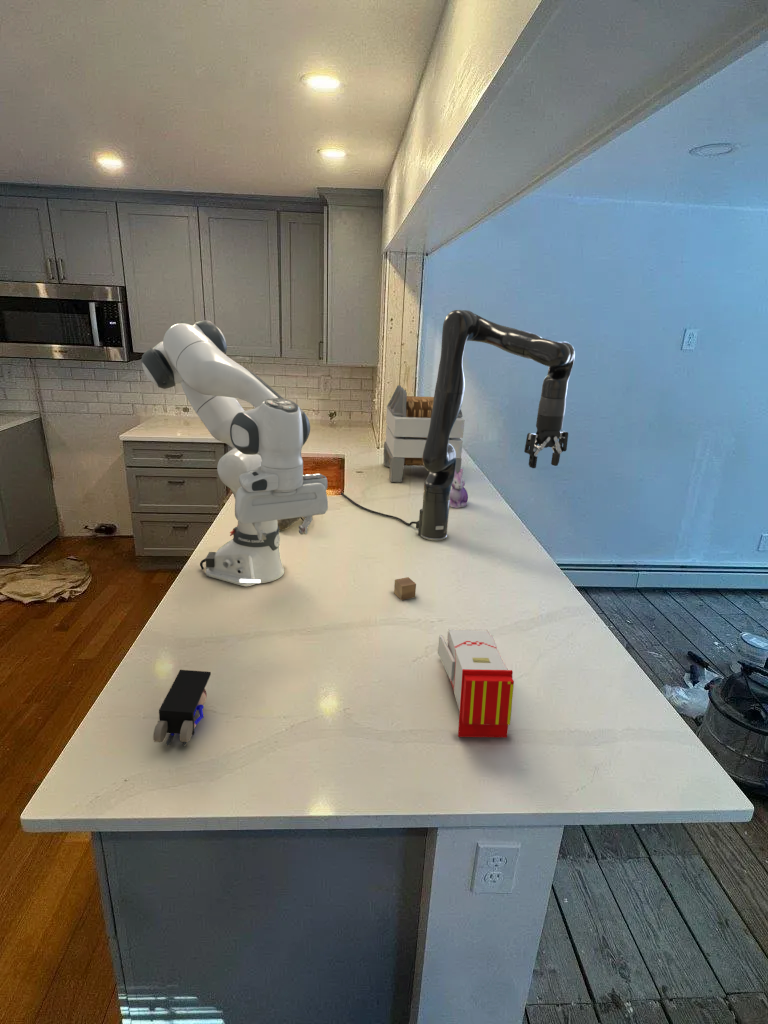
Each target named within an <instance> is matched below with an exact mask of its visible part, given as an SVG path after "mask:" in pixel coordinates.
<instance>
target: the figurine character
mask: <svg viewBox="0 0 768 1024" xmlns="http://www.w3.org/2000/svg"><path fill="white" fill-rule="evenodd" d="M211 675H212V673H211V671H208V670H207V671H204V670H190V669H189V670H188V669H179V670H178V673H177V675H176V676H175V679H174V681H173V682H172V684H171V686H170V687H169V690H168V692H167V694H166V696H165V697H164V700H163V701H162V703H161V705H160V707H159V709H158V717H159V718H158V719H159V720H158V721H157V722H156V724H155V727H154V729H153V734H152V735H153V737H152V738H153V740H152V741H153V742H155V743H163V742H164V741H165V739H166V737H167V734H169V735H168V737H167V740H166V743H165V744H166V746H167V747H168V746H170V745H171V744H172V742H173V739H174V737H175V735H179V741H180V742H181V744H182V745H181V746H182V747H185V746H186V745H187V744H188V743H189V742H190V740H191V738H192V736H194V735H195V733H196V732H195V728H196V727H197V725H198V724H199V723H200V722H201V721H202V720H203V719H204V717H205V716H204V711H203V710H204V707H205V706H204V704H205V703H206V701H207V698H208V695H207V690H206V686H207V684H208V682H209V679H210V677H211ZM197 711H198V715H199V716H198V717H197V718H196V719H195V716H196V713H197Z"/></svg>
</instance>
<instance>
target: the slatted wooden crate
mask: <svg viewBox="0 0 768 1024" xmlns="http://www.w3.org/2000/svg"><path fill="white" fill-rule="evenodd" d="M407 394H408V393H407V390H406V389H404V388H403V387H402V385H399V384H398V385H397V386H396V388H395V390H394V392H393V394H392V395H391V398H390V400H389V402H388V404H387V405H386V413H385V414H386V415H385V423H386V428H385V438H384V442H383V466H384V467H388V468H389V475H388V476H389V477H388V478H389V480H390V482H391V483H402V482H403V475H404V469H405V466H406V467H407V466H411V467H412V466H413V467H415V466H416V467H417V466H418V467H424V465H423V460H422V456H423V451H424V447H425V444H426V440H427V436H428V432H429V427H430V421H431V414H432V408H433V400H434V396H415V395H414V396H413V395H412V396H411V395H407ZM464 429H465V419H464V418H463V411H462V408H461V409H460V412H459V414H458V416H457V419H456V421H455V423H454V425H453V427H452V429H451V432H450V436H449V441H448V443H449V444H451V445H452V446H453V448H454V449H455V452H456V466H455V470H456V472H457V473H459V471H460V469H462V461H463V460H462V453H463V442H464V441H463V440H462V439H463V438H464V431H465V430H464Z"/></svg>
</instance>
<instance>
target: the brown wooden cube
mask: <svg viewBox="0 0 768 1024" xmlns="http://www.w3.org/2000/svg"><path fill="white" fill-rule="evenodd" d="M393 586H394V587H393V594H394V595H395V596H396V597H397V598H398V599H399V600H400V601H403V600H405V601H406V600H409V599H414V598H416V591H417V583H416V582H415V581H414V580H412V579H411V578H410V577H409V576H406V577H402V578H397V579H394V585H393Z"/></svg>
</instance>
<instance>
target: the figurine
mask: <svg viewBox="0 0 768 1024" xmlns="http://www.w3.org/2000/svg"><path fill="white" fill-rule="evenodd" d="M463 474H464V468H461V469H460V471H459V473H457V472H456V470H455V474H454V480H453V483H452V485H451V493H450V505H449V508H454V509H455V508H456V509H459V508H464V507H466V506H467V504H468V500H469V495H468V491H467V489H466V487H465V484H466V483H465V479H464V477H463V476H464V475H463Z"/></svg>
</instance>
